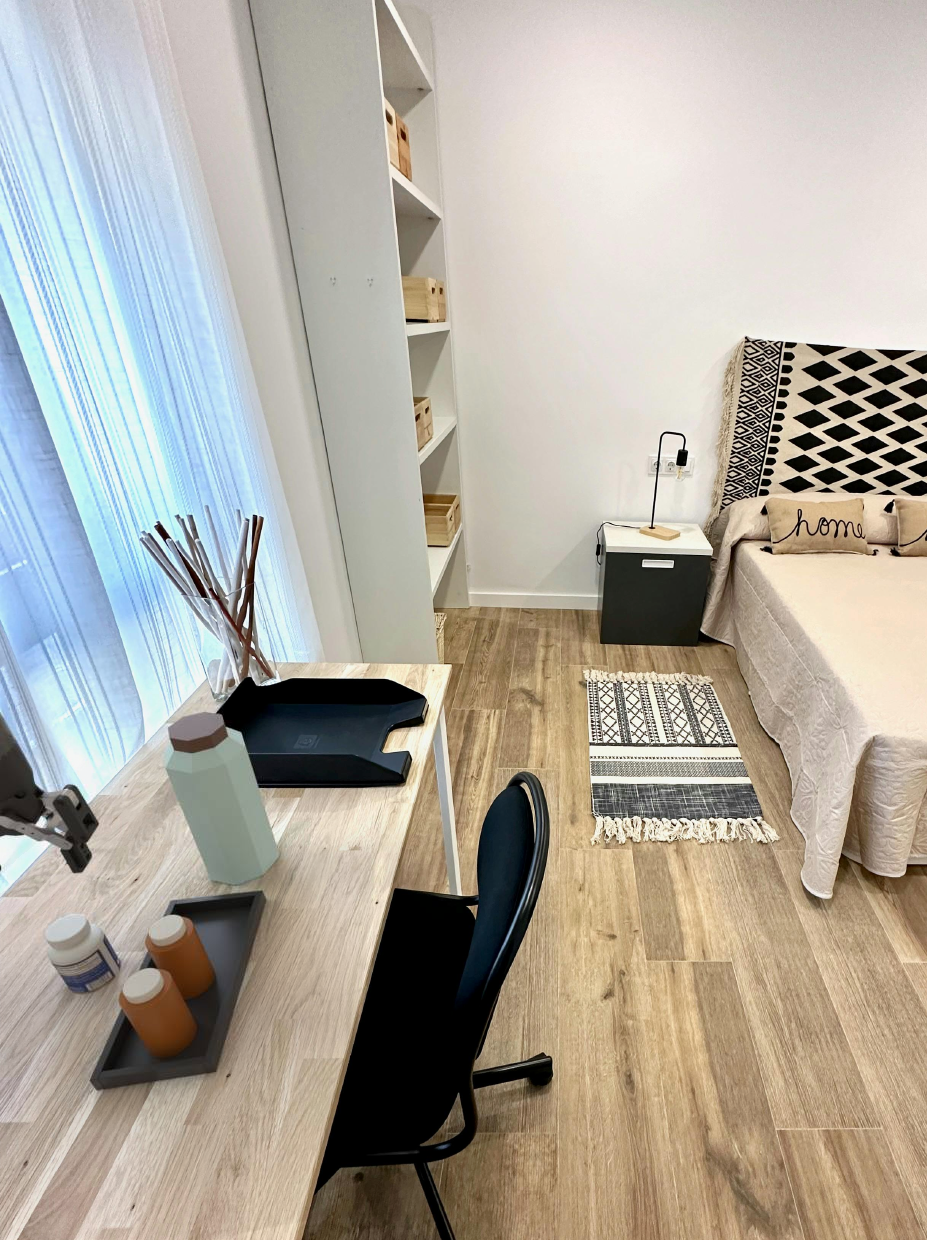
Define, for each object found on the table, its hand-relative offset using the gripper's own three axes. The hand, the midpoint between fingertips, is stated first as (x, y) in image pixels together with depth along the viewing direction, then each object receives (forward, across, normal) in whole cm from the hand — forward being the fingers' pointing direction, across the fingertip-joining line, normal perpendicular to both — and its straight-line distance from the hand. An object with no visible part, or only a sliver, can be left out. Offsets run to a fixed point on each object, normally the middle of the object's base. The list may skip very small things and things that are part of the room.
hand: (38, 872), depth 68 cm
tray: (+18, -12, +3) cm, 22 cm away
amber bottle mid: (+18, -12, +3) cm, 21 cm away
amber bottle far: (+18, -12, +10) cm, 23 cm away
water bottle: (+19, -12, -17) cm, 28 cm away
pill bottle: (+19, 0, 0) cm, 19 cm away
